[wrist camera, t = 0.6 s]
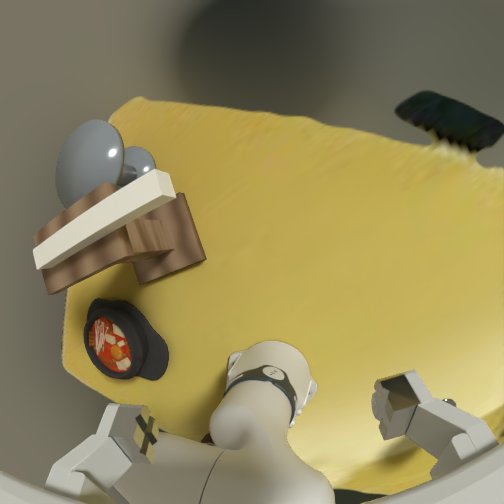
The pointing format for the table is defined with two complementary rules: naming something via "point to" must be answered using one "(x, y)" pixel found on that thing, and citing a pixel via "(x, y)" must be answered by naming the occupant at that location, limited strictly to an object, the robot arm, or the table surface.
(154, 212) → the walnut stand
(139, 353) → the casserole
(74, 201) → the cake stand
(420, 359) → the table surface
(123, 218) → the bar
